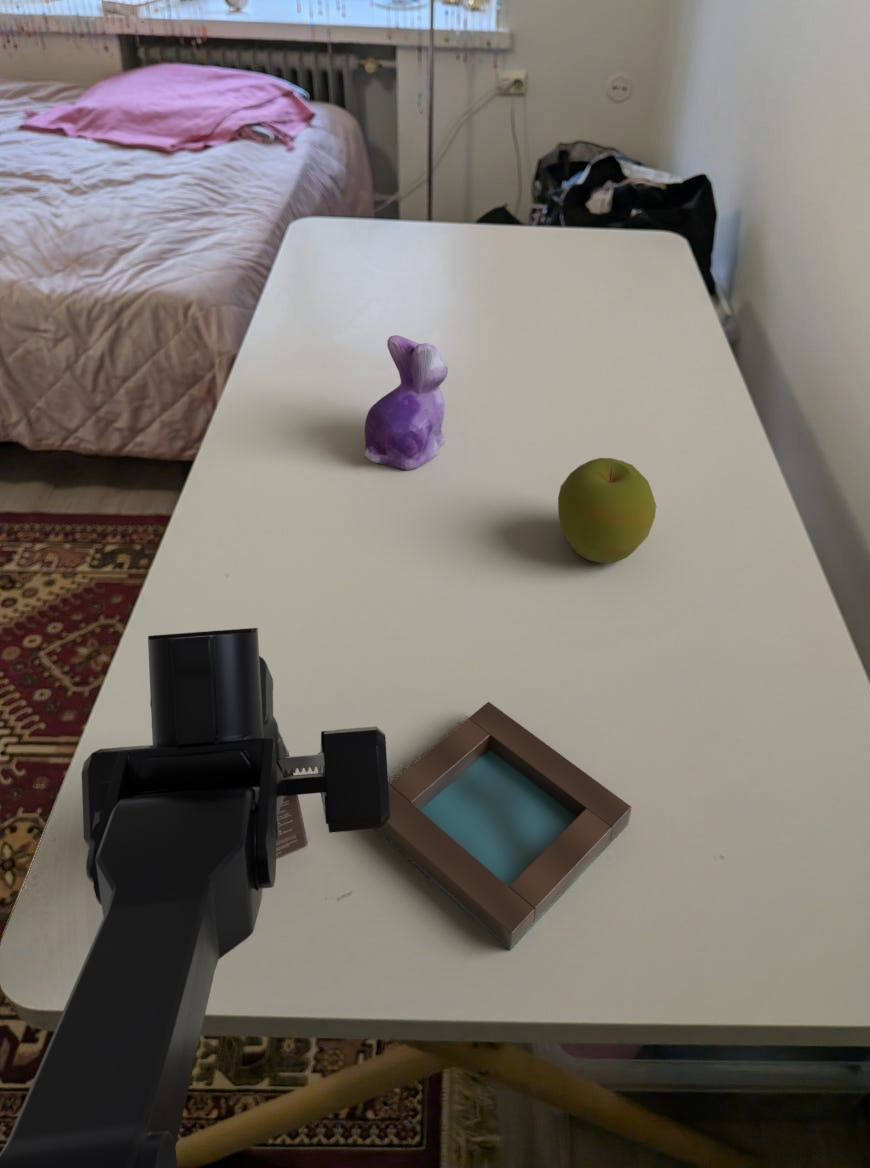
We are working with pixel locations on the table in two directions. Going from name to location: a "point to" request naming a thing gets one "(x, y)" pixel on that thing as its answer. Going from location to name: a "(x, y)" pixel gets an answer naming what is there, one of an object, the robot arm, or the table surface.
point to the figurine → (408, 408)
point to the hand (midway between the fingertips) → (257, 767)
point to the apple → (606, 509)
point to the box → (290, 820)
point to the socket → (501, 821)
